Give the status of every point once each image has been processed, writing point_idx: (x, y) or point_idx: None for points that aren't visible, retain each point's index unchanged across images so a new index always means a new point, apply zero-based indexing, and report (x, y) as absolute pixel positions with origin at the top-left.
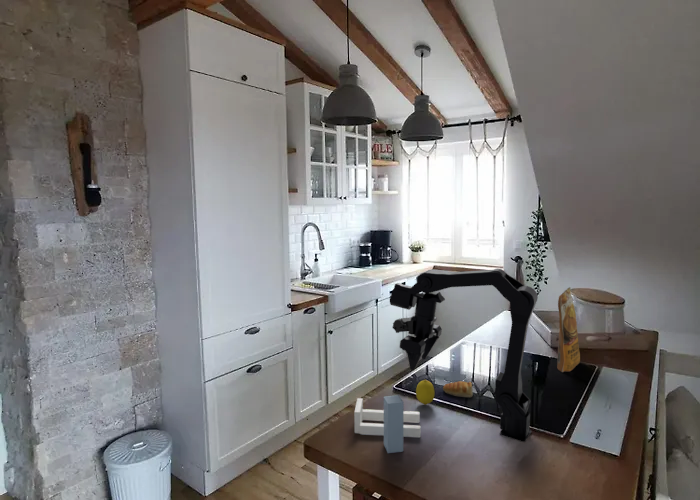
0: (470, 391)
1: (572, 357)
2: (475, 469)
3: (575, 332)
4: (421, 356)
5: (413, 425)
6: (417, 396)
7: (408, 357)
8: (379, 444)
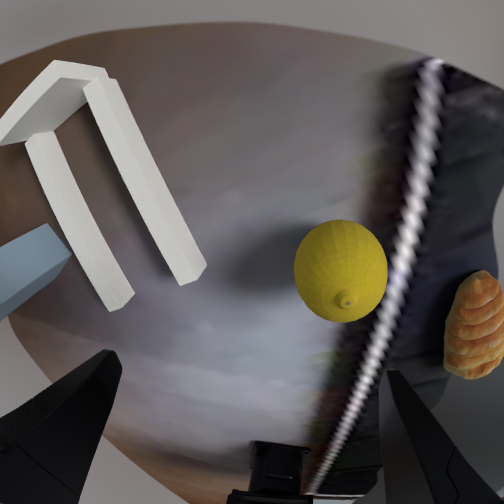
0: (452, 371)
1: None
2: None
3: None
4: (78, 492)
5: (108, 289)
6: (305, 237)
7: (19, 410)
8: (41, 213)
